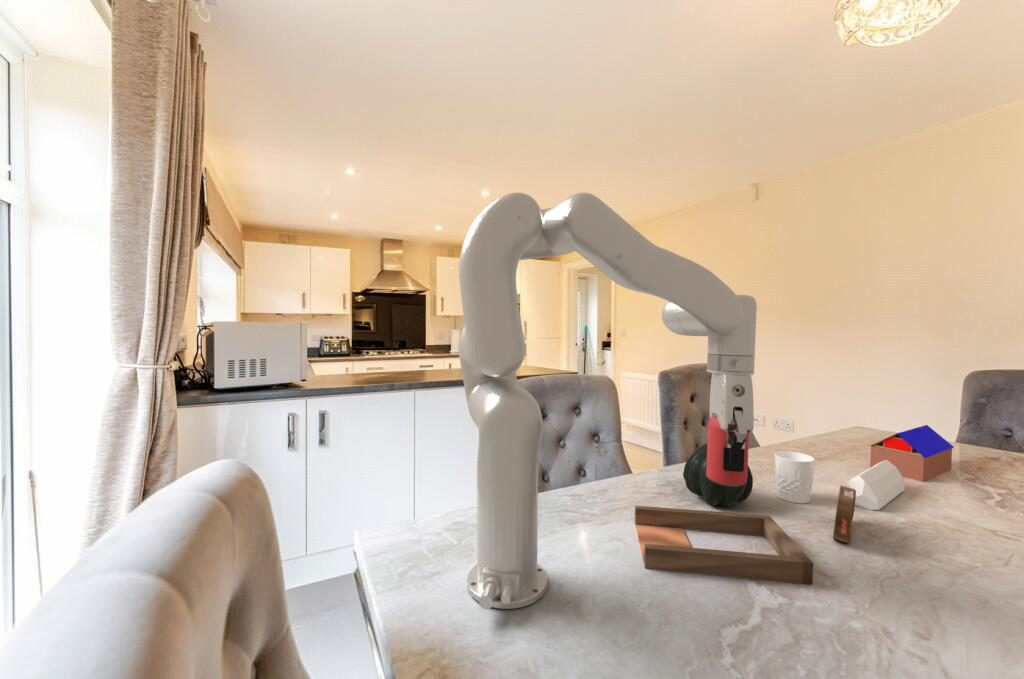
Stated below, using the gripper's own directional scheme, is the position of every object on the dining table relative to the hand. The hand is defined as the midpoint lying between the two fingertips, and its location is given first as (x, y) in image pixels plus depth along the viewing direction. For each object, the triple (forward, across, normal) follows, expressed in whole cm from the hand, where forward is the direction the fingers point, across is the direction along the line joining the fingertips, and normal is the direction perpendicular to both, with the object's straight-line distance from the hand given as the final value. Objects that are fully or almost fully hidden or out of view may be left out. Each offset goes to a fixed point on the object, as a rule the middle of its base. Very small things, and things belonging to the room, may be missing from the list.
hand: (726, 463), depth 78 cm
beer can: (+3, 0, 0) cm, 3 cm away
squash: (+16, +24, -5) cm, 30 cm away
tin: (+16, +12, -25) cm, 32 cm away
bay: (+16, 0, +3) cm, 16 cm away
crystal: (+16, +34, -42) cm, 56 cm away
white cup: (+16, +28, -23) cm, 40 cm away
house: (+15, +57, -65) cm, 88 cm away
